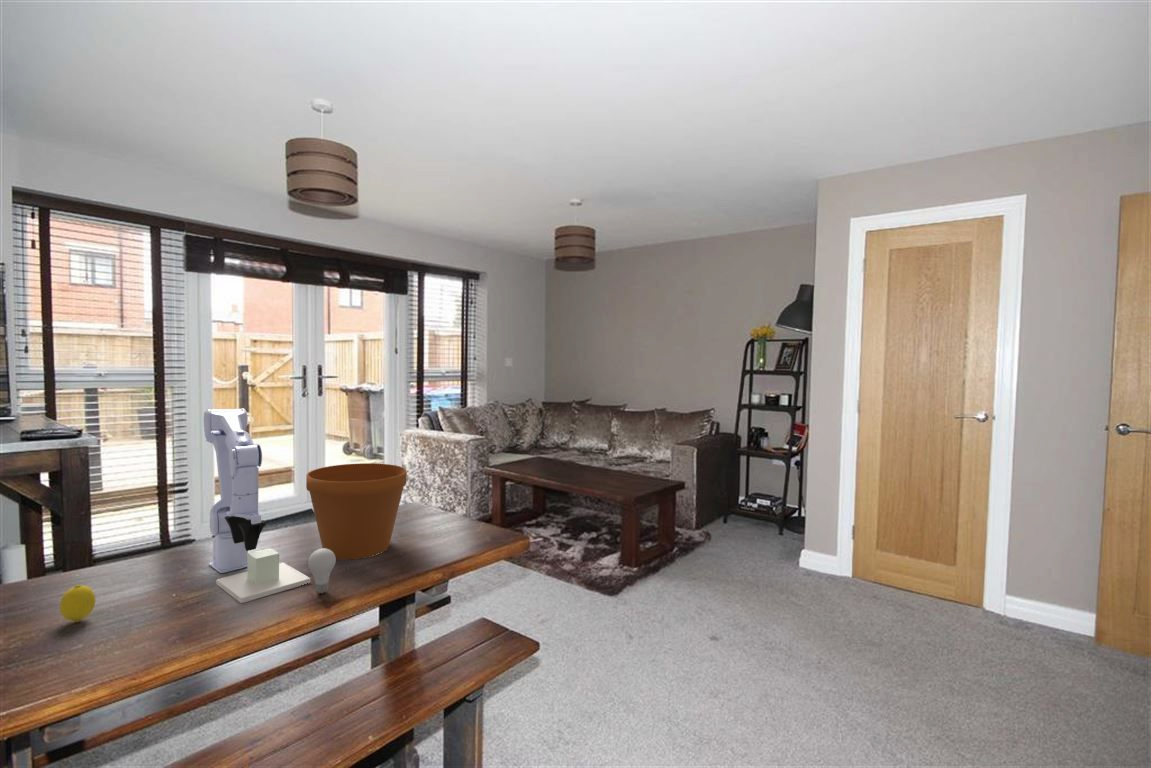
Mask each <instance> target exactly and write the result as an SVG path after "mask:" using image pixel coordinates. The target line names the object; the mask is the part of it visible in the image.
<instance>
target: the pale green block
mask: <svg viewBox="0 0 1151 768" xmlns="http://www.w3.org/2000/svg"><path fill="white" fill-rule="evenodd" d="M279 563H280V552H278V551H276V550H275V549H273V548H271V547H269V548H265V549H261V550H257V551H252V552H248V553H247V567H246V568H247V571H246V572H247V579H248V580H249V581H251V582H252V583H254V584H255V585H258V584H262V583H266V582H269V581H273V580H277V579H279Z"/></svg>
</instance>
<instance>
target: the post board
mask: <svg viewBox="0 0 1151 768" xmlns="http://www.w3.org/2000/svg"><path fill="white" fill-rule="evenodd" d="M215 583H216V585H217V586H218V587H219V588H221V590H223V591H225V592H226V593H227V594H229V596H231V597H232V598H234V599H235V600H236V601H237V602H239V603H240V604H244V603H247V602H250V601H253V600H257V599H261V598H264V597H267V596H271V595H273V594H277V593H278V594H279V593H281V592H285V591H287V590H291V589H295V588H298V587H301V585H302V586H304V584H305V585H308V584H311V577H309V576H307V575H306V574H304V573H302V572H300V571H299V570H297V569H296V568H294V567H292V566H290V565H289V564H287V563H285V562H279V579H277V580H273V581H269V582H266V583H262V584H258V585H255V584H254V583H252V582H251V581H249V580H248V579H247V571H243V572H239V573H236V574H232V575H228V576H224V577H220V578H217V579H216V580H215ZM307 583H308V584H307Z"/></svg>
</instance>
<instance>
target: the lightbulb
mask: <svg viewBox="0 0 1151 768" xmlns="http://www.w3.org/2000/svg"><path fill="white" fill-rule="evenodd" d="M336 560H337V559H336V557H335V554H334V553H333V552H332V551H331V550H329V549H326V548H318V549H316V550H314V551H313V552H312V553H311V554H310V556H309V558H308V563H307V564H308V569H309V570H310V572H311V574H312V575H313V579H314V584H315V592H316V593H318V594H320V593H321V594H325V592H328V586H329V585H328V584H329V581H330V576H331V572H332V570H333V569H334V567H335V565H336Z"/></svg>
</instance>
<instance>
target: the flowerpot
mask: <svg viewBox="0 0 1151 768" xmlns="http://www.w3.org/2000/svg"><path fill="white" fill-rule="evenodd" d="M407 472H408V471H407V469H406V467H403V466H400V465H396V464H391V463H390V464H388V463H387V464H386V463H370V462H369V463H368V462H365V463H364V462H362V463H346V464H336V465H335V464H334V465H329V466H323V467H318V468H316V469H313V470H310V471H308V472H306V479H305V480H306V484H305V486H306V488H305V489H306V490H307V491H308V492H309V494H310V496H309V497H310V499H311V503H312V504H311V505H312V508H313V513H314V518H315V522H316V526H317V530H318V531H317V532H318V534H319V535H318V536H319V538H320V539H319V540H320V542H321V543H320V544H321V547H322V548H326V549H329V550H331V551H332V552H333V553H334V554H335V557H336V560H340V559H344V561H347V560H348V561H350V560H349V559H354V560H360V559H359V558H363V559H366V558H365V557H368V558H370V557H369V556H372V555H376V554H378V553H381V552H383V551H385V550H386V549H387V548H388V547H389V548H390V544H391V539H392V536H393V533H394V527H395V523H396V519H397V515H398V511H399V507H400V502H401V499H402V494H403V491H404V488H405V486H406V485H407ZM389 548H388V549H389ZM388 549H387V550H388ZM387 550H386V551H387ZM386 551H385V552H386ZM383 553H384V552H383ZM381 554H382V553H381ZM376 556H377V555H376ZM372 557H373V556H372ZM346 559H347V560H346Z"/></svg>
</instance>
